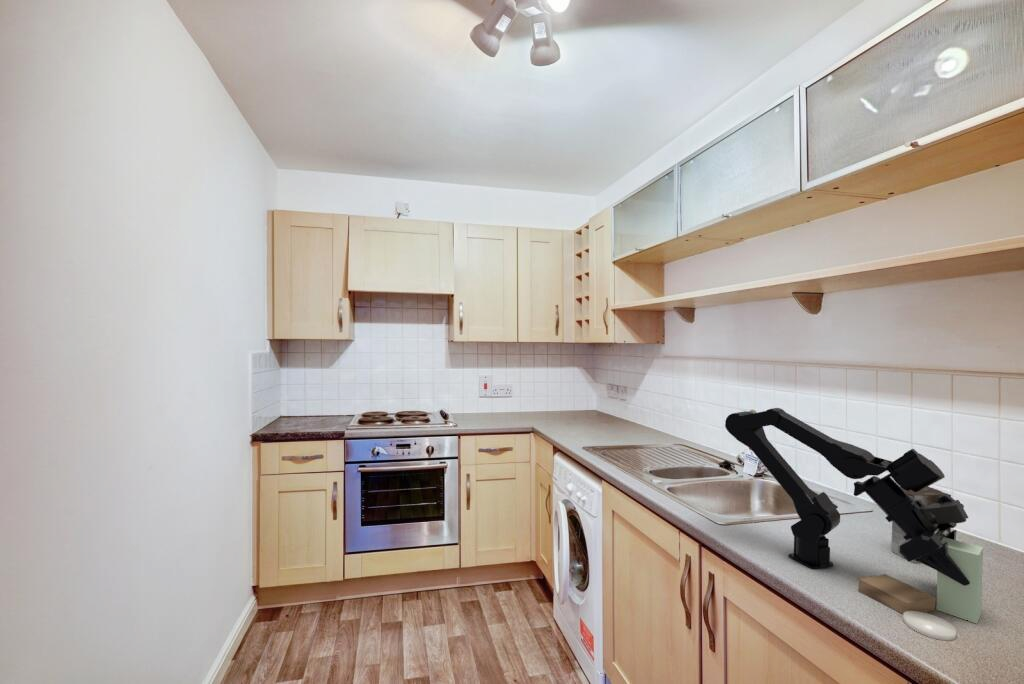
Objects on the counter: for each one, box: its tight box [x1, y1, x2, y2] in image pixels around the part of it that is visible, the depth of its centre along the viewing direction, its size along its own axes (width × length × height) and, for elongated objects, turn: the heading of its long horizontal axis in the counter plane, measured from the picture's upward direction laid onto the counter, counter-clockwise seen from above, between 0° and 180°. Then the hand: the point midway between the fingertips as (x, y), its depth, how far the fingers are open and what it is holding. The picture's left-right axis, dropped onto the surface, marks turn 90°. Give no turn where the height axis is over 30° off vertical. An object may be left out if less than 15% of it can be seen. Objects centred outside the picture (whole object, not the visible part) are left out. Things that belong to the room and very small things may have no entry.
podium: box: [857, 573, 936, 615], centre depth 91 cm, size 9×8×2 cm
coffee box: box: [890, 486, 952, 564], centre depth 110 cm, size 9×6×16 cm
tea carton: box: [935, 537, 984, 624], centre depth 88 cm, size 6×6×12 cm
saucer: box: [902, 611, 957, 642], centre depth 82 cm, size 7×7×1 cm
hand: (970, 579), depth 87 cm, fingers closed on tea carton, 5 cm apart
